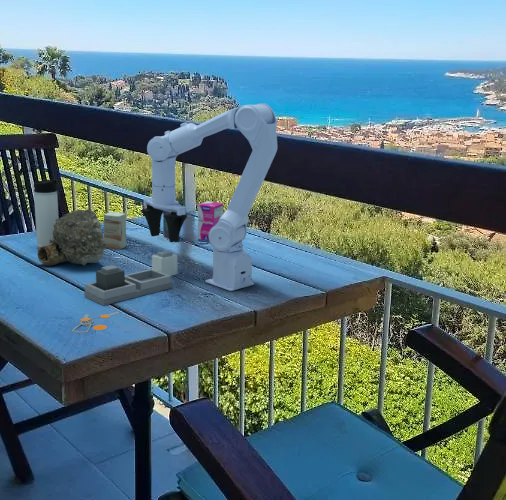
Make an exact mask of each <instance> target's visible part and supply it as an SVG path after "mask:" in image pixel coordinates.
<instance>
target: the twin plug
mask: <svg viewBox="0 0 506 500" xmlns="http://www.w3.org/2000/svg"><path fill="white" fill-rule="evenodd" d="M125 272H126V271H125V270H124V269H121V268H120V267H119V266H117V265H116V266H115V265H114V264H112V265H108V266H103V267H101V269H100V270H95V280H96V281H95V282H96V287H97V288H100V289H102V290H104V291H105V290H110V289H114V288H118V287H122V286H125V275H126V273H125Z"/></svg>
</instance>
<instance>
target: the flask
mask: <svg viewBox="0 0 506 500" xmlns="http://www.w3.org/2000/svg"><path fill="white" fill-rule="evenodd" d="M167 214H171V212H167V211H164V210H163V213H162V219H163V220H162V221H163V222H162V223H163V226H162V227H163V230H162V231H163V232H162V233H163V237H164V238H166V239H167V240H169V234H168V226H167V222H166V219H165V217H164V215H167ZM178 242H180V237H179V238H178V241H176V242H175V243H178Z"/></svg>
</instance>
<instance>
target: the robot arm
mask: <svg viewBox="0 0 506 500" xmlns="http://www.w3.org/2000/svg"><path fill="white" fill-rule="evenodd" d="M278 122H279V121H278V118H277V116H276V114H275V112H274V110H273V109H272V107H271V106H270V105H268V104H267V103H263V102H262V103H260V102H259V103H256V104H244V105H242V106H240V107H236V108H232V109H231V108H230V109H229V110H226V111H224V112H222V113H219V114H218V115H216V116H214V117H212V118H210V119H208V120H206V121H203V122H202V123H200V124H195V123H192V122H189V123H188V122H187V121H186V122H183V123H181V124H180V127H178V128H176V129H174V130H171V131H170V130H167V131H164V135H162V136H159V135H158V136H154V137H152V138H151V139H150V140H149V141H148V143H147V146H146V151H147V154H148V156H149V157H150V158H151V183H152V184H151V192H152V195H151V196H152V198H151V197H147V198H143V207H145V208H142V209H141V213H142V215H143V216H144V217H145V220H146V222H147V226H148V229H149V232H150V236H151V237H157V236H160V233H161V221H162V218H163V210H164V211H167V212H171V214H167V215H164V217H165V219H166V222H167V226H168V234H169V239H168V241H169V243H177V242H176V241H178V238H179V239H180V233H181V230H182V227H183V225H184V222H185V221H186V219H187V217H188V214H187V213H186V206H184V205H181V204H180V203H179V201H178V200H177V199H176V159H177V157H178V156H179V155H181V154H183V153H185V152H188V151H191V150H192V149H194V148H197V147H199V146H201V144H202V142H203V139H204V138H206V137H208V136H212V135H214V134H217V133H219V132H221V131H224V130H226V129H232V130H236V129H237V130H239V132H241V134H242V135H243V136H244V137H245V138H246V139H247V142H248V143H249V145H250V147H251V150H252V151H251V153H250V156H249V158H248V160H247V162H246V165H245V166H244V167H245V168H244V169H243V172H242V174H241V176H240V178H239V181H238V182H237V186H236V188H235V189H234V192H233V194H232V197H231V198H230V201H229V204H228V206H227V208H226V210H225V211H223V215H222V216H221V217H220V219H219V221H218V223H217V224H216V225H215V226H214V227H212V228H211V230H210V232H209V241H210V242H209V244H210V245H211V247H212V278H209V279H205V283H207V284H209V285H212V286H215V287H219V288H221V289H224V290H227V291H229V292H233V291H237V290H239V289H242V288H247V287H251V286H253V285H255V282H253V281H252V280H253V278H252V276H253V275H252V274H253V260H252V257H251V255H250V254H249V253H247V252H245V251H244V249H243V248H244V244H243V241H244V240H245V239H246V237H247V232H248V223H249V221H250V219H249V213H250V211H251V209H252V207H253V204H254V202H255V200H256V198H257V196H258V193H259V191H260V189H261V187H262V185H263V182H264V181H265V178H266V176H267V174H268V171H269V169H270V167H271V166H272V165H271V164H273V160H274V158H275V156H276V153H277V151H278V135H277V125H278Z"/></svg>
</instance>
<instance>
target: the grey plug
mask: <svg viewBox="0 0 506 500" xmlns="http://www.w3.org/2000/svg"><path fill="white" fill-rule="evenodd" d="M151 269H153V270H156V271H159V272H162V273H164V274H167V275H170V276H171V277H172V276H175V275H178V255H177V254H175V253H173V252H172V251H169V250H163V251H157V252H156V254H153V255H151Z"/></svg>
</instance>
